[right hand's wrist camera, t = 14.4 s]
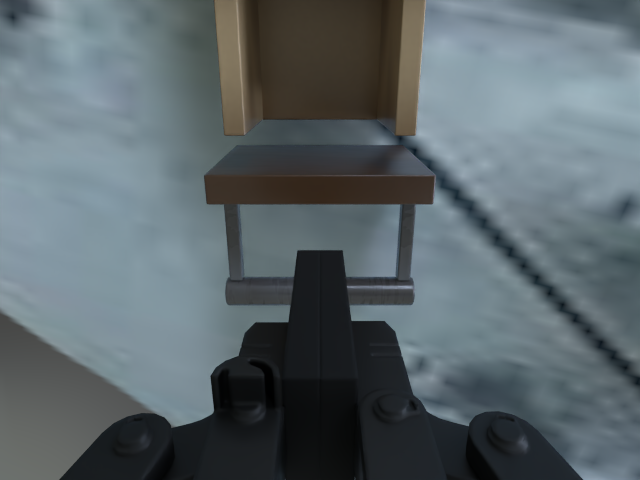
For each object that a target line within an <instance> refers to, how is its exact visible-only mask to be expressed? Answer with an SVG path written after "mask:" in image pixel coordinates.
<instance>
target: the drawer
mask: <svg viewBox="0 0 640 480" xmlns="http://www.w3.org/2000/svg"><path fill="white" fill-rule="evenodd" d="M425 7H426V0H214V8H215V21H216V34H217V48H218V61H219V74H220V87H221V100H222V113H223V126H224V135H225V136H244V135H246V134H247V133H248V132H249V131H250V130H251V129H253V128H254V127H255V126H256V125H257V124H258V123H259V122H261V121H262V120H378V121H379V122H381V123H382V124H383V125H384V126H385V127H386V128H387V129H389V130H390V131H391V132H392V133H393V134H394V135H396V136H415V135H416V125H417V112H418V99H419V86H420V73H421V60H422V46H423V33H424V20H425ZM204 181H205V191H206V202H207V204H224V210H225V222H226V234H227V246H228V259H229V271H230V277H229V278H228V279H227V282H226V290H225V295H226V302H227V304H228V305H291V299H292V291H293V283H294V277H244V262H243V248H242V233H241V218H240V204H400V218H399V233H398V248H397V263H396V277H346V283H347V291H348V299H349V305H412V304H413V302H414V296H415V289H414V282H413V279H412V278H411V277H410V271H411V259H412V246H413V234H414V222H415V209H416V204H433V202H434V191H435V181H436V175H435V174H434V173H433V172H432V171H430V170H429V169H428V168H427V167H426V166H425V165H424V164H423V163H422V162H421V161H419V160H418V159H417V158H416V157H415V156H414V155H413V154H412V153H411V152H410V151H409V150H407V149H406V148H405V147H404V146H403V145H237V146H236V147H235V148H234V149H233V150H231V151H230V152H229V153H228V154H227V155H226V156H225V157H224V158H223V159H222V160H221V161H219V162H218V163H217V164H216V165H215V166H214V167H213V168H212V169H211V170H210V171H208V172H207V173H206V174H205V175H204Z"/></svg>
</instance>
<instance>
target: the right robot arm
mask: <svg viewBox="0 0 640 480" xmlns="http://www.w3.org/2000/svg"><path fill="white" fill-rule="evenodd" d="M211 385H212V394H213V403H214V413H213V414H212V415H210V416H208V417H206V418H204V419H202V420H200V421H197V422H194V423H190V424H186V425H182V426H178V427H174V428H171V425H170V424H169V422H168V421H167V420H166V419H165V418H164V417H162V416H159V415H157V414H149V413H141V414H137V415H132V416H128V417H126V418H124V419H122V420H119V421H117V422H116V423H114V424H112V425H111V426H110V427H109V428H108V429H106V430H105V431H104V432H103V433H102V434H101V435H100V436H99V437H98V438H97V439H96V440H95V441H94V443H93V444H92V445H91V446H90V447H89V448H88V449H87V450H86V451H85V452H84V453H83V455H82V456H81V457H80V458H79V459H78V460H77V461H76V462H75V463H74V464H73V466H72V467H71V468H70V469H69V470H68V471H67V472H66V473H65V474H64V475H63V476H62V477H61V479H60V480H583V479H582V478H581V477H580V476H579V475H578V474H577V473H576V472H575V471H574V469H573V468H572V467H571V466H570V465H569V464H568V463H567V462H566V461H565V460H564V459H563V457H562V456H561V455H560V454H559V453H558V452H557V451H556V450H555V449H554V448H553V447H552V446H551V444H550V443H549V442H548V441H547V440H546V439H545V438H544V437H543V436H542V435H541V434H540V433H539V431H538V430H536V429H535V428H534V427H533V426H531V425H530V424H529V423H528V422H527V421H525V420H523V419H520V418H518V417H516V416H514V415H512V414H507V413H503V412H499V411H498V412H484V413H482V414H479V415H477V416H475V417H474V418H473V420H472V421H471V422H470V424H469V426H465V425H461V424H457V423H452V422H449V421H445V420H442V419H439V418H437V417H435V416H433V415H431V414H430V413H428V412H427V411H426V409H425V408H424V406H423V404H422V402H421V401H420V400H419V399H418V398H416V397H415V396H414V395H413V392H412V389H411V386H410V382H409V379H408V375H407V372H406V368H405V365H404V361H403V358H402V356H401V351H400V347H399V345H398V340H397V337H396V333H395V331H394V330H393V329H392V328H391V327H390V326H389V325H388V324H387V323H386V322H385V321H351V315H350V307H349V299H348V291H347V283H346V275H345V267H344V259H343V251H342V250H298V251H297V259H296V267H295V275H294V283H293V291H292V299H291V307H290V315H289V322H256V323H255V324H254V325H253V326H252V327H251V328H250V329H249V330H248V331H247V332H246V333H245V335H244V339H243V342H242V348H241V349H240V353H239V356H238V357H235V358H232V359H229V360H226V361H225V362H223V363H222V364H220V365H219V366H218V367H216V368H215V370H214V371H213V373H212V374H211Z"/></svg>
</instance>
